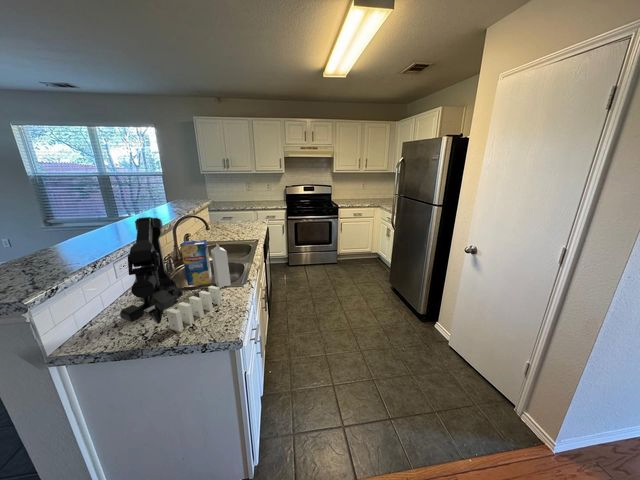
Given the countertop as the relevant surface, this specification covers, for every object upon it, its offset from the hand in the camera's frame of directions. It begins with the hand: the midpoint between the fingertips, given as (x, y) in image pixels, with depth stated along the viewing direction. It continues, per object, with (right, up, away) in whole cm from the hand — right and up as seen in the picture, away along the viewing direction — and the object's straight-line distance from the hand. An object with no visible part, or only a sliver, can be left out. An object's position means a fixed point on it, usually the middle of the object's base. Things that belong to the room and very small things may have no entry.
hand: (158, 323), depth 91 cm
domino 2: (+4, -3, +11) cm, 13 cm away
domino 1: (+2, -4, +7) cm, 9 cm away
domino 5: (+10, +1, +25) cm, 27 cm away
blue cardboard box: (-6, +7, +45) cm, 46 cm away
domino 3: (+6, -2, +16) cm, 17 cm away
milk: (+7, +6, +42) cm, 43 cm away
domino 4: (+8, 0, +20) cm, 22 cm away
